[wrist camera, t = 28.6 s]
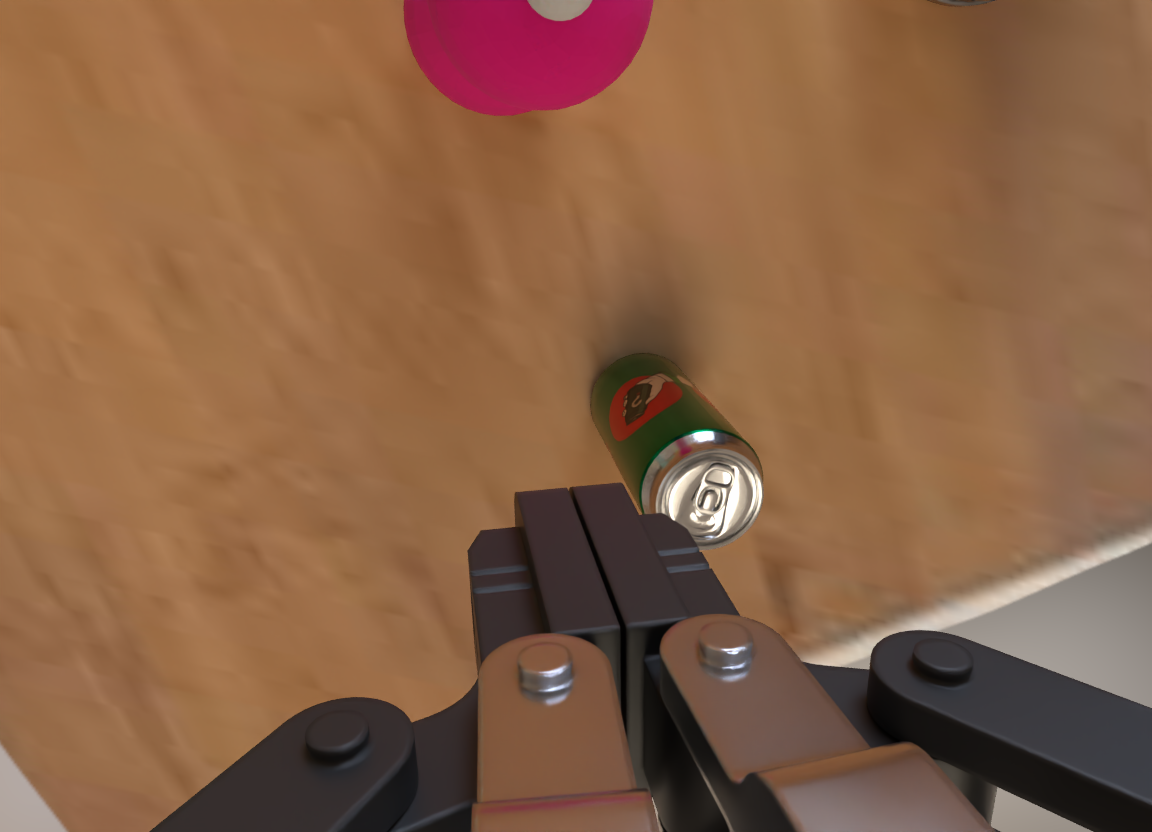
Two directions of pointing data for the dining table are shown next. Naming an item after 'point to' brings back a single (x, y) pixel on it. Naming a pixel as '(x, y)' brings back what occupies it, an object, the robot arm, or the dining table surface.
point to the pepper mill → (524, 49)
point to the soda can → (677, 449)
